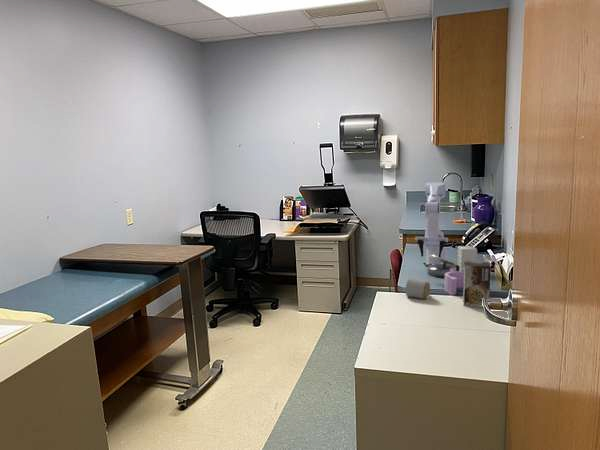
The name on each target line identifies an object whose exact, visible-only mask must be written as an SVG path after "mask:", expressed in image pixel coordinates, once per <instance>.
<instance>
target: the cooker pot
mask: <svg viewBox="0 0 600 450" xmlns="http://www.w3.org/2000/svg"><path fill="white" fill-rule="evenodd" d="M424 266H425V268H427V275H428V276H430V277H433V278H441V279H445V273H447V272H449V270H450V269H451V268H456V271H458V272H459V269H460V266H459V265H457V266H452V265H448V264H445V263H443V264H434V265H432V264H424Z"/></svg>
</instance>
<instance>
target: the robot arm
mask: <svg viewBox="0 0 600 450" xmlns="http://www.w3.org/2000/svg"><path fill="white" fill-rule="evenodd" d="M446 185H447V184H446V183H445V182H444V181H443V182H435V181H434V182H428V181H426V183H425V187H424V188H425V189H424V190H425V196H426V198H427V200H426V201H427V202H425V204H424V205H425V206H424V211H425V212H424V213H425V231H424V232H425V233H424V236H415V237H414V241H416V242H417V244H418V247H419V250H420V256H421V257H424V247H425V248H426V262H427V264H441V263H442V262H439V261H436V260H434V259H432V258H430V257H429V255H435V256H439V258H440V257H442V258H445V259H446V250H445V249H444V247H445V245H446V243H448V242H449V238H448V237H445V235H444V234H445V233H444V232H443V231H442V230H441V229H440V228H439V227H440V214H441V200H442V199H443V198H445V196H446V188H447V187H446Z"/></svg>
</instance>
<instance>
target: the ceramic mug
mask: <svg viewBox="0 0 600 450" xmlns="http://www.w3.org/2000/svg"><path fill="white" fill-rule="evenodd" d="M430 292H431V285H430V282H428V281H427V280H424V279H423V280H422V279H419V278H418V279H417V278H413V277H409V278H408V279H407V281H406V285H405V296H406V297H410V298H414V297H415V299H421V300H426V299H427V298H428V297H429V295H430Z"/></svg>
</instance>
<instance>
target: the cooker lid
mask: <svg viewBox="0 0 600 450" xmlns="http://www.w3.org/2000/svg"><path fill="white" fill-rule="evenodd" d="M429 257H430V258H432V259H434V260H436V261H439V262H442V263H445V264H446V265H450V266H454V267H456V266H457V265H458V262H455V261H452V260H451V259H448V258H446V257H445V258H442V257H440V258H439V256H435V255H429Z"/></svg>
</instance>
